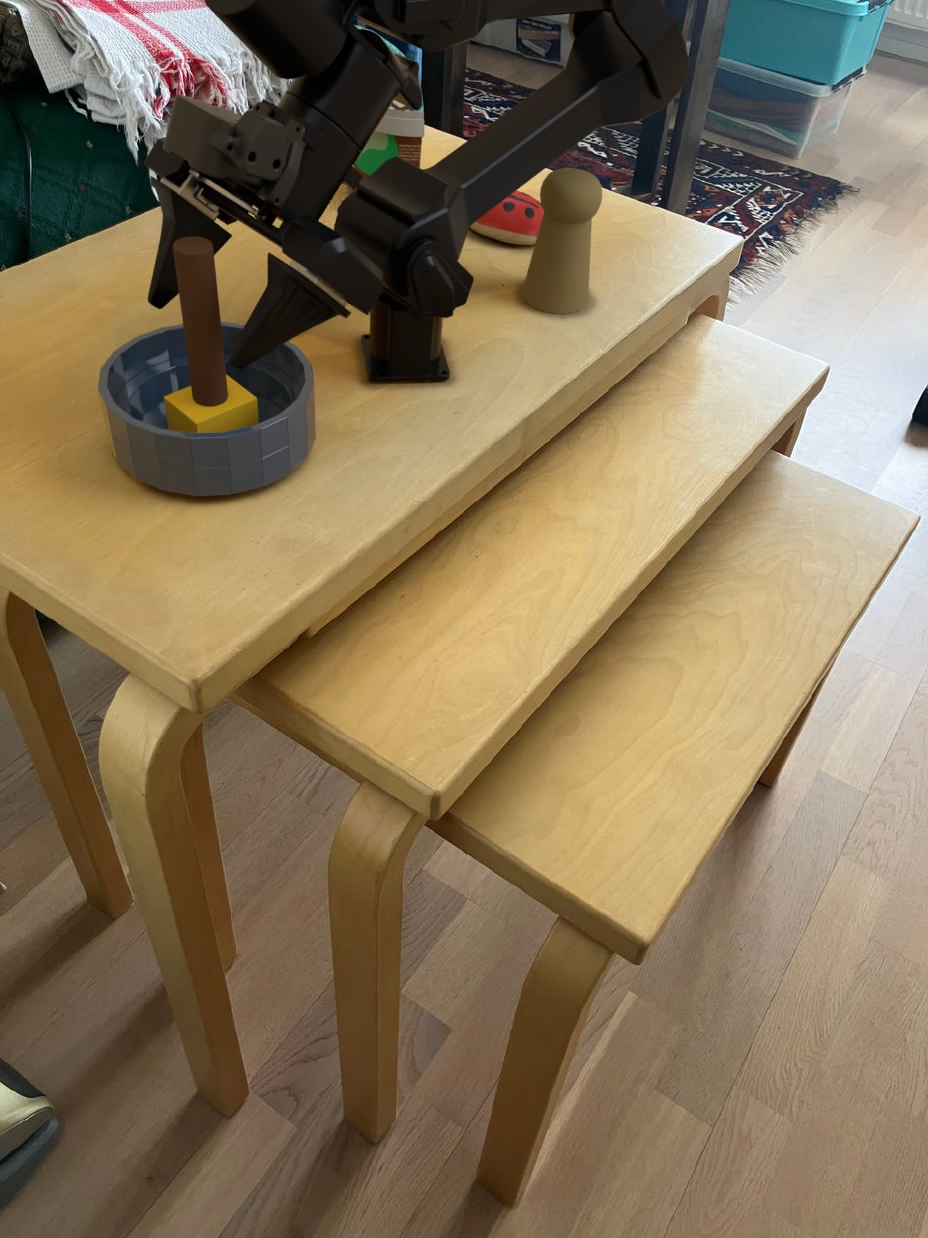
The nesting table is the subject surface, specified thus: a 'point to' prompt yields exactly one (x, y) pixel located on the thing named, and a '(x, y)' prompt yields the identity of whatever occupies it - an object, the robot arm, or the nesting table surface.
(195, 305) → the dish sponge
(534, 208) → the ladybug figurine
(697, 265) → the nesting table surface
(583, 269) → the olive brown pawn
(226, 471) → the bowl
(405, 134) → the food container
